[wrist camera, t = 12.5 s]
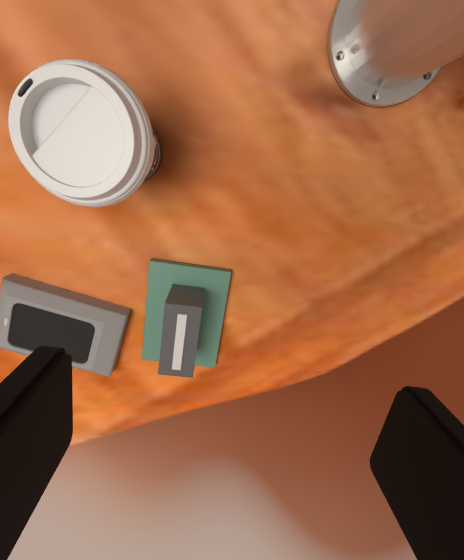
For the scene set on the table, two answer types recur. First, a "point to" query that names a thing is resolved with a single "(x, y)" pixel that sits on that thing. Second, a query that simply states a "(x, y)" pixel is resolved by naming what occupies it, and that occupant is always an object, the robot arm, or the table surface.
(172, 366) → the block
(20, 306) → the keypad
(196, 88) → the table surface
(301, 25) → the table surface
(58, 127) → the coffee cup
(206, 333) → the board
